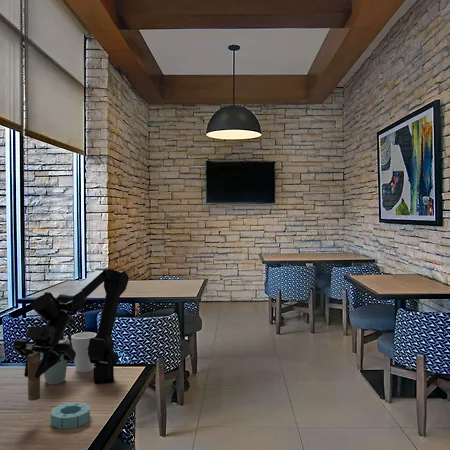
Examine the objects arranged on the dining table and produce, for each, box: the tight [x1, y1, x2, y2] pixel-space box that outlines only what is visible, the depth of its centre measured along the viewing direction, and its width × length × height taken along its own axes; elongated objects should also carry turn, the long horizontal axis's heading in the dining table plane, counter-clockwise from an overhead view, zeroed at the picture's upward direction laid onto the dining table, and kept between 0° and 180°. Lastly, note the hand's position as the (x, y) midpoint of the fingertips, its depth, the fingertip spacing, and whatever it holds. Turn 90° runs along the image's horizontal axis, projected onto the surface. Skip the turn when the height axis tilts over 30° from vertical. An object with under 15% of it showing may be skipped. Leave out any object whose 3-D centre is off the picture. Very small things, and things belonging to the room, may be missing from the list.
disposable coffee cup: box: [39, 335, 71, 385], centre depth 166 cm, size 11×11×15 cm
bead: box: [50, 401, 91, 430], centre depth 135 cm, size 10×10×3 cm
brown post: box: [27, 353, 41, 402], centre depth 135 cm, size 3×3×12 cm
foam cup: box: [70, 331, 97, 373], centre depth 178 cm, size 10×9×13 cm
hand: (30, 377), depth 133 cm, fingers closed on brown post, 3 cm apart
